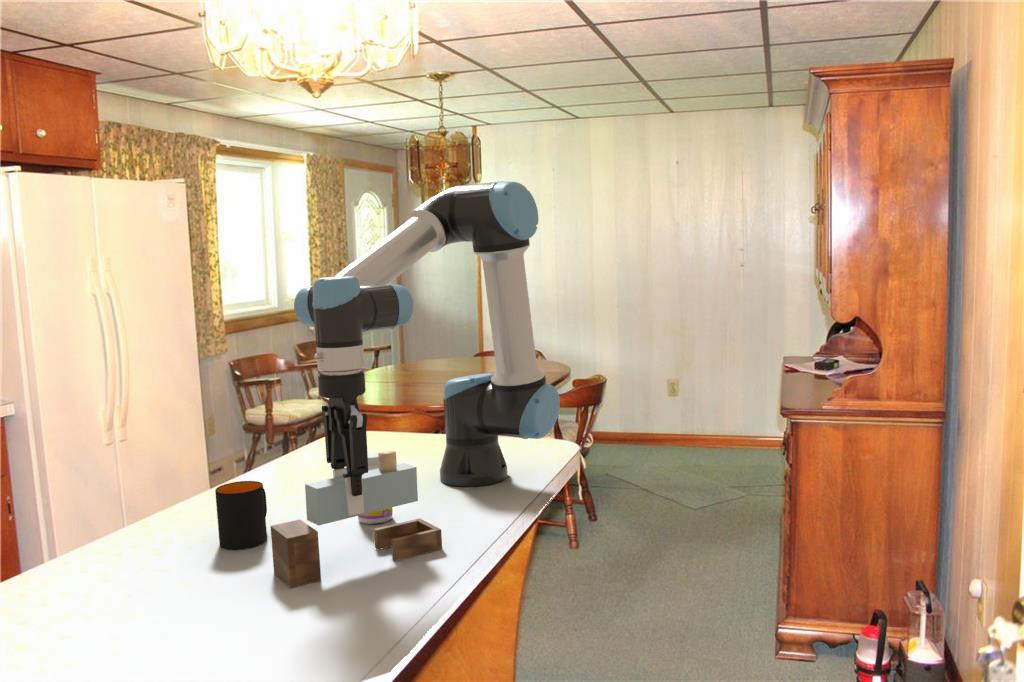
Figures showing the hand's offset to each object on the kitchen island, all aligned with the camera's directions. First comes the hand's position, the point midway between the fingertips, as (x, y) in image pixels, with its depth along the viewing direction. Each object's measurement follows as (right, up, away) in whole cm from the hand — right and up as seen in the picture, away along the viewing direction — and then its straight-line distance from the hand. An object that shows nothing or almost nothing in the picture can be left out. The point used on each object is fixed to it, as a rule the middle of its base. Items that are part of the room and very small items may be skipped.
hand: (349, 510), depth 145 cm
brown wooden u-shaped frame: (+9, -8, +7) cm, 14 cm away
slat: (+2, 0, +2) cm, 3 cm away
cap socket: (-8, -10, -4) cm, 13 cm away
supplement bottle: (+1, -7, +24) cm, 25 cm away
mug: (-21, -9, +16) cm, 28 cm away
